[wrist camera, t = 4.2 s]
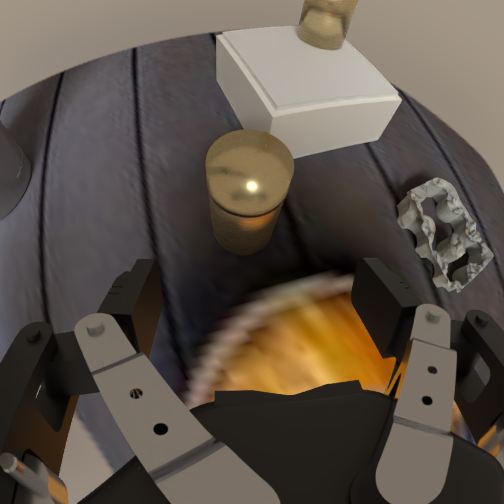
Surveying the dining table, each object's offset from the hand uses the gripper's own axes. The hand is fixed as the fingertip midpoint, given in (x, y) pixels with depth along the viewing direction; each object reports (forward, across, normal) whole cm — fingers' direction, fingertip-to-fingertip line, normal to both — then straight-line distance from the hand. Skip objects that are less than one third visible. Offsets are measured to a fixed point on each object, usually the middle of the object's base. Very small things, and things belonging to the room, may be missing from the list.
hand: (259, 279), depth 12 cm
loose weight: (+13, 0, +3) cm, 14 cm away
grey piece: (+13, -20, +4) cm, 24 cm away
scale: (+24, -6, -8) cm, 26 cm away
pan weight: (+22, -8, -16) cm, 28 cm away
